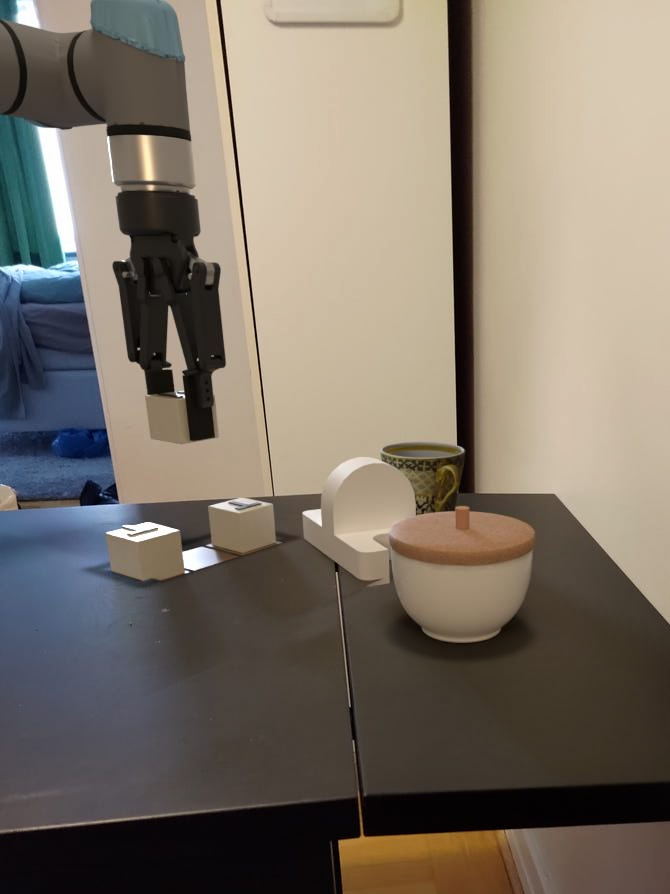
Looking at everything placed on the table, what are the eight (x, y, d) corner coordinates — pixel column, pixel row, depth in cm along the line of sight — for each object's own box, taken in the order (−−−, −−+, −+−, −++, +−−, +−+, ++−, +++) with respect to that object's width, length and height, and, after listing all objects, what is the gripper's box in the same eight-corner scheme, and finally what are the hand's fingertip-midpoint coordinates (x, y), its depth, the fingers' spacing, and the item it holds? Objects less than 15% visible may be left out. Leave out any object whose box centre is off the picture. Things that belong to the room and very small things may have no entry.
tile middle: (150, 439, 93) (144, 394, 91) (188, 432, 97) (183, 389, 95) (181, 444, 91) (176, 398, 89) (219, 437, 94) (214, 393, 93)
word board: (92, 581, 89) (91, 575, 88) (243, 536, 104) (243, 531, 104) (143, 598, 85) (142, 591, 84) (292, 548, 100) (292, 542, 100)
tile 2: (211, 545, 98) (207, 504, 97) (245, 535, 102) (242, 496, 100) (242, 553, 96) (238, 511, 94) (276, 542, 100) (273, 502, 98)
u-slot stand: (362, 587, 88) (358, 481, 84) (301, 541, 103) (295, 448, 98) (446, 573, 93) (446, 472, 89) (376, 531, 107) (374, 441, 103)
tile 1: (109, 575, 88) (102, 531, 87) (151, 563, 92) (145, 520, 90) (143, 586, 86) (137, 540, 84) (185, 572, 90) (179, 528, 88)
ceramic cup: (368, 527, 109) (365, 446, 105) (438, 516, 114) (438, 438, 110) (419, 555, 99) (419, 466, 95) (493, 542, 104) (495, 457, 100)
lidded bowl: (482, 668, 71) (484, 536, 67) (362, 633, 77) (357, 511, 73) (556, 621, 81) (562, 503, 77) (444, 593, 87) (444, 483, 83)
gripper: (251, 191, 83) (270, 440, 92) (130, 196, 92) (158, 422, 101) (187, 185, 77) (214, 451, 86) (64, 191, 86) (101, 431, 95)
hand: (184, 435), depth 94 cm, fingers closed on tile middle, 5 cm apart
